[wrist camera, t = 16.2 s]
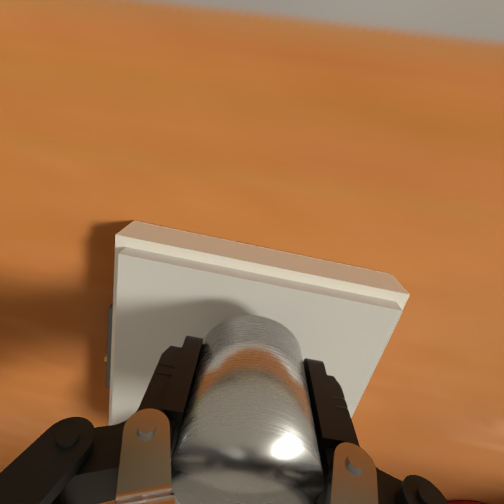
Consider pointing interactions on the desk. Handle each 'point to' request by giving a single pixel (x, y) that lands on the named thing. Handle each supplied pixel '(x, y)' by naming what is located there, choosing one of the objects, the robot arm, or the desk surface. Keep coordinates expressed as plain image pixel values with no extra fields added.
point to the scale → (239, 306)
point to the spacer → (248, 421)
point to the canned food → (464, 502)
